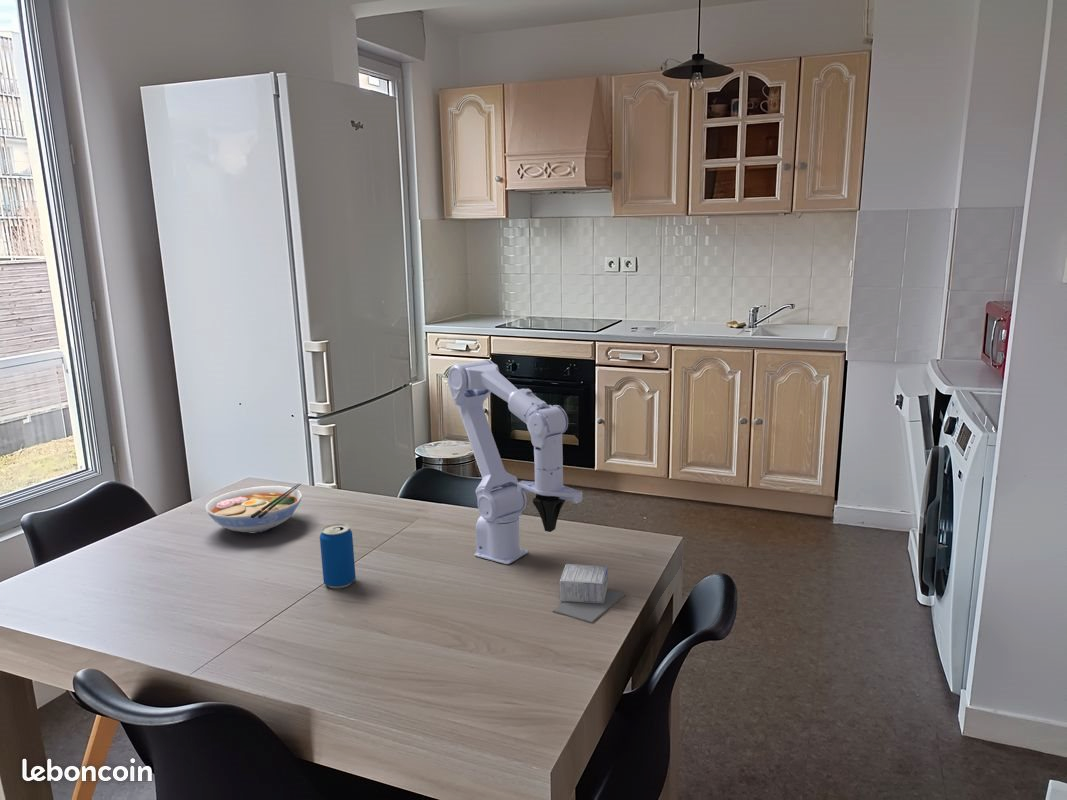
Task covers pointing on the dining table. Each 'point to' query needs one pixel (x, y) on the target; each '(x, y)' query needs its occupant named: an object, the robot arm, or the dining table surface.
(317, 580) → the dining table surface
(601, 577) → the medicine box
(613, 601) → the mat
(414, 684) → the dining table surface
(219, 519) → the ramen bowl
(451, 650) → the dining table surface
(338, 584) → the beverage can
